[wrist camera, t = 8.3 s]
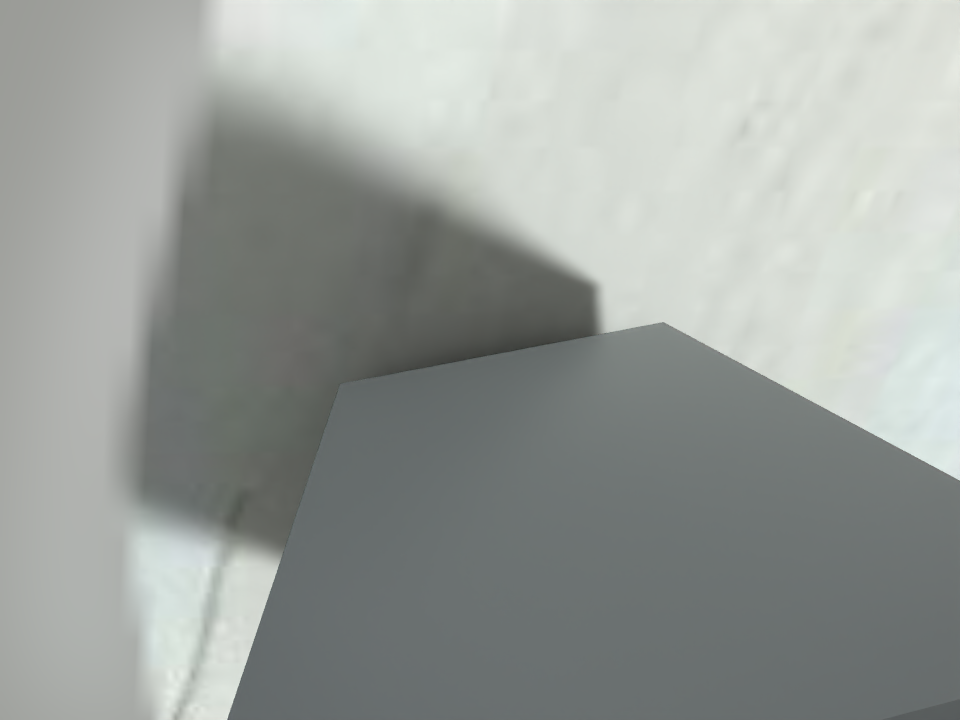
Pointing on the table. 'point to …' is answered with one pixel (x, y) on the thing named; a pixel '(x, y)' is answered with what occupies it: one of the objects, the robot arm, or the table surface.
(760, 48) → the table surface
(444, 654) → the matte grey cube
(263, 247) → the table surface
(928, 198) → the table surface
